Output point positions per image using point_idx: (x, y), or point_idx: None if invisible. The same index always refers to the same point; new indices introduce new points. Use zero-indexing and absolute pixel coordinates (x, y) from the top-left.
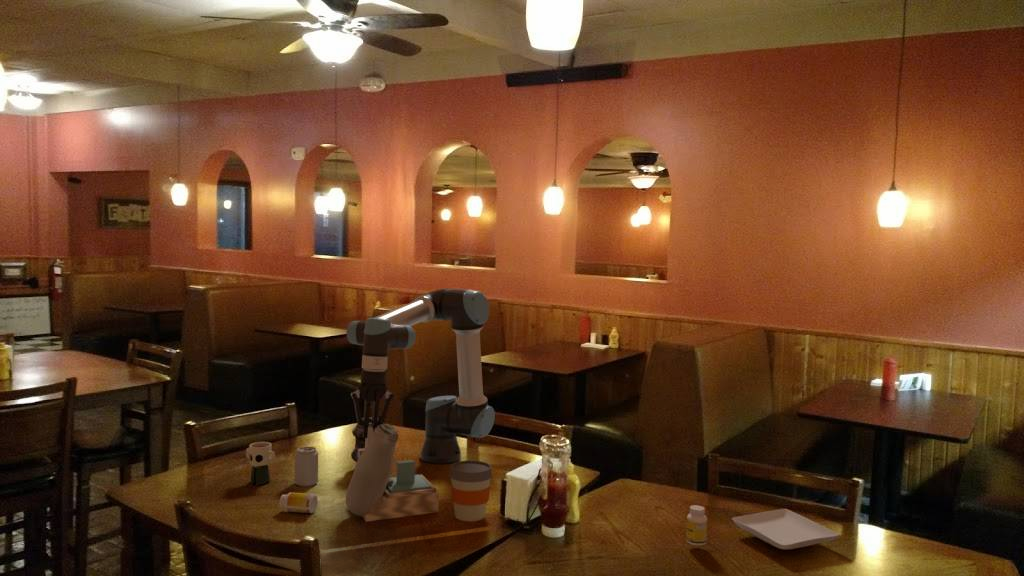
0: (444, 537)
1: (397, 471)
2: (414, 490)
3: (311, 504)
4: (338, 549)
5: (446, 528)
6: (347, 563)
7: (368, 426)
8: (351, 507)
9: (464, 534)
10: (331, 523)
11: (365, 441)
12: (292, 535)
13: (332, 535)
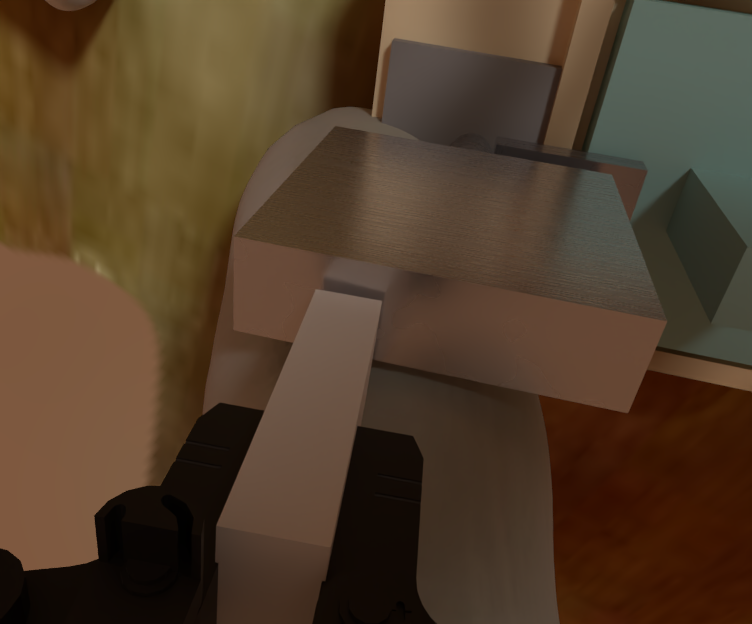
0: (600, 553)
1: (705, 234)
2: (701, 361)
3: (73, 7)
4: (188, 432)
5: (672, 501)
6: None
7: (253, 560)
8: None
9: (691, 574)
10: (206, 179)
11: (296, 342)
12: (21, 223)
13: (187, 312)
